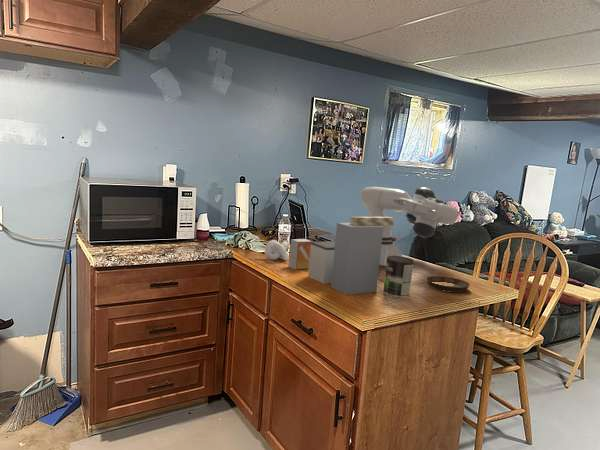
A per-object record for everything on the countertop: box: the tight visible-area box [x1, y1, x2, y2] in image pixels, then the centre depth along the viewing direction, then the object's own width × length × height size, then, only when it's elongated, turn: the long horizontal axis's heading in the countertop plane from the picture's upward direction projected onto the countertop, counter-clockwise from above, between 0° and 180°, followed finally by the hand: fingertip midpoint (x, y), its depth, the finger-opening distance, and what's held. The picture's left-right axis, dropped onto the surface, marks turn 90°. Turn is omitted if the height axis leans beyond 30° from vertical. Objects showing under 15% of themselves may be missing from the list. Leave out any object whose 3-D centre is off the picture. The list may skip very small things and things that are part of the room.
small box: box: [288, 238, 313, 270], centre depth 196 cm, size 8×6×13 cm
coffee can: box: [382, 256, 415, 299], centre depth 166 cm, size 10×10×14 cm
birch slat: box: [349, 216, 395, 226], centre depth 167 cm, size 19×4×3 cm, turn 120°
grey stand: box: [330, 222, 383, 295], centre depth 166 cm, size 15×10×26 cm, turn 120°
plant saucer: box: [426, 275, 471, 293], centre depth 182 cm, size 18×18×3 cm
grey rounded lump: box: [264, 239, 289, 261], centre depth 210 cm, size 11×12×9 cm
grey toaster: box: [307, 240, 335, 285], centre depth 181 cm, size 18×12×15 cm, turn 120°
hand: (398, 201), depth 183 cm, fingers open, 8 cm apart
